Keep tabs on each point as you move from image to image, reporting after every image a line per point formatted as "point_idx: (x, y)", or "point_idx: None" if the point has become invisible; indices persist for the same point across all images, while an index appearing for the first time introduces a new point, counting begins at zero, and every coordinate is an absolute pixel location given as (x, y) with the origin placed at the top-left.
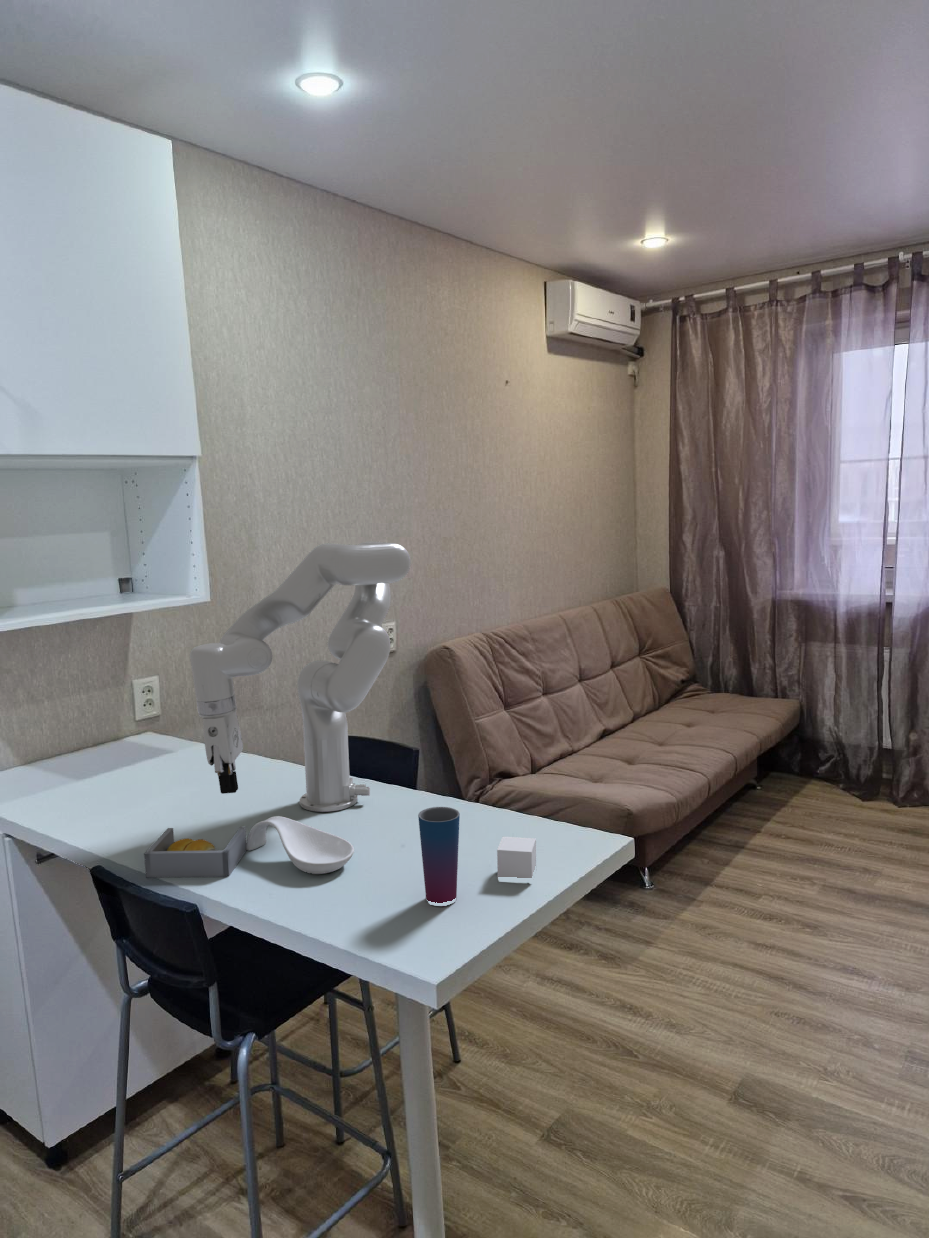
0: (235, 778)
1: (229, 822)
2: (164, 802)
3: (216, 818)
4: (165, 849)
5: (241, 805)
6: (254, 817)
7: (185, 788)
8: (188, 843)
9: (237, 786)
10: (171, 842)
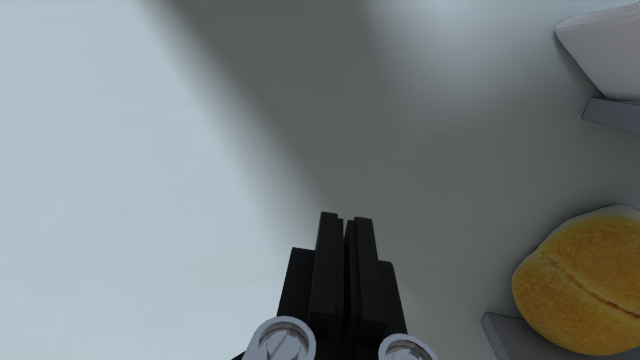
0: (334, 269)
1: (290, 183)
2: (120, 351)
3: (248, 224)
4: (577, 355)
5: (131, 156)
6: (252, 98)
7: (13, 315)
8: (623, 312)
9: (330, 222)
10: (524, 344)
